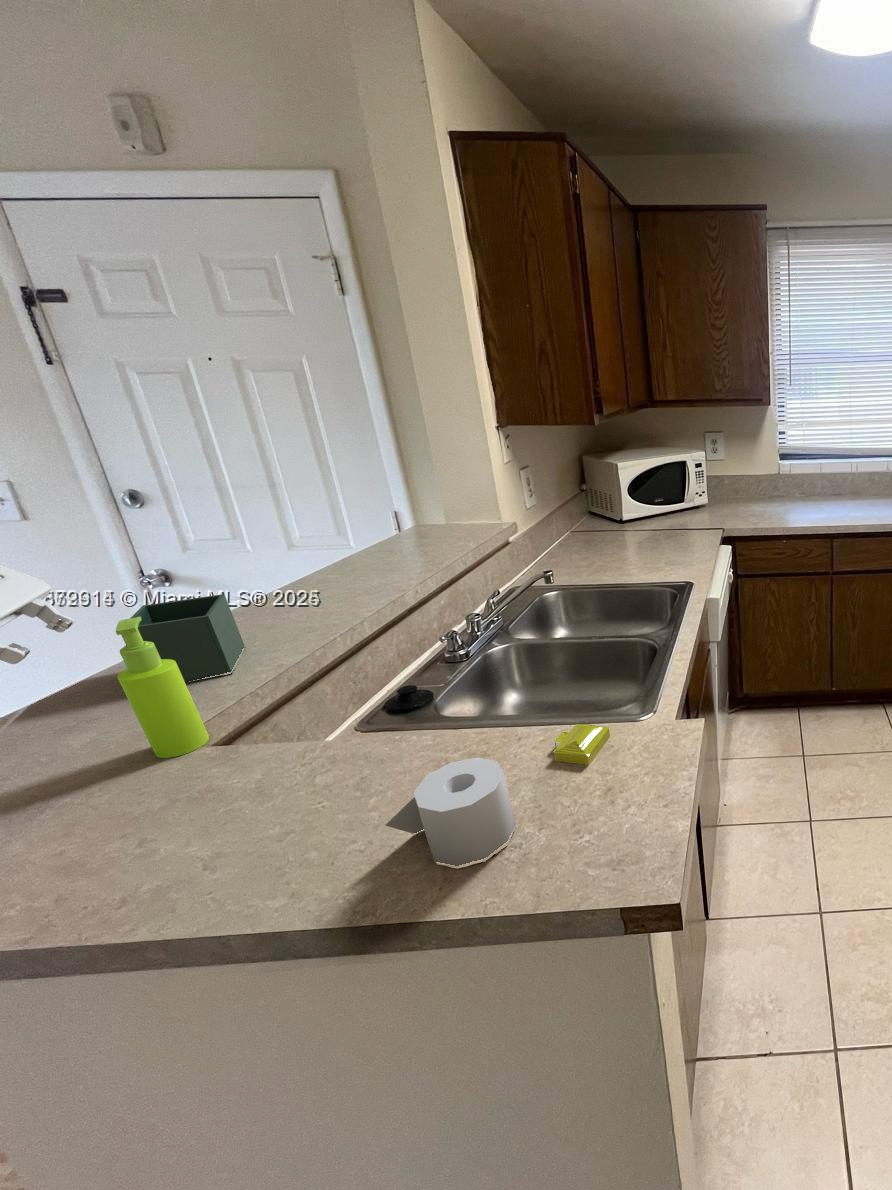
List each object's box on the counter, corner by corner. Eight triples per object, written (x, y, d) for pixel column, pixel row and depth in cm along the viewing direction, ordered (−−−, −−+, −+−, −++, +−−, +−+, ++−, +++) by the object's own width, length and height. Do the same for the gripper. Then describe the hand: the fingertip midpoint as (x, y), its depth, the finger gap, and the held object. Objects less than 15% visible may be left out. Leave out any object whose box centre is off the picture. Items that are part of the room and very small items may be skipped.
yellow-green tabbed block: (594, 772, 87) (591, 756, 85) (534, 765, 88) (531, 749, 87) (623, 731, 96) (621, 716, 94) (568, 725, 97) (566, 710, 96)
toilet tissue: (400, 832, 76) (382, 776, 72) (516, 804, 81) (505, 751, 77) (386, 888, 68) (365, 829, 65) (515, 854, 73) (503, 797, 69)
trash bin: (147, 690, 104) (118, 629, 100) (168, 662, 113) (142, 605, 109) (232, 674, 110) (208, 616, 105) (245, 648, 118) (224, 593, 114)
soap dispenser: (210, 726, 95) (159, 609, 87) (208, 747, 90) (153, 626, 82) (158, 740, 92) (99, 620, 84) (153, 763, 87) (90, 638, 79)
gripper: (-54, 574, 82) (79, 627, 89) (-203, 639, 65) (-23, 698, 72) (-25, 538, 82) (106, 594, 89) (-166, 594, 65) (10, 658, 72)
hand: (47, 641), depth 81 cm, fingers open, 8 cm apart
